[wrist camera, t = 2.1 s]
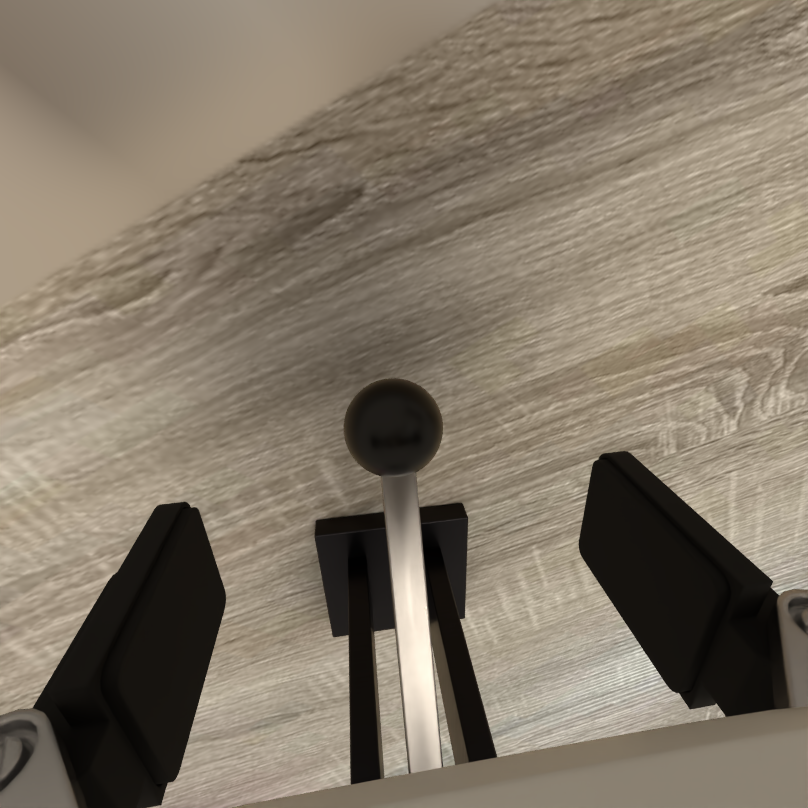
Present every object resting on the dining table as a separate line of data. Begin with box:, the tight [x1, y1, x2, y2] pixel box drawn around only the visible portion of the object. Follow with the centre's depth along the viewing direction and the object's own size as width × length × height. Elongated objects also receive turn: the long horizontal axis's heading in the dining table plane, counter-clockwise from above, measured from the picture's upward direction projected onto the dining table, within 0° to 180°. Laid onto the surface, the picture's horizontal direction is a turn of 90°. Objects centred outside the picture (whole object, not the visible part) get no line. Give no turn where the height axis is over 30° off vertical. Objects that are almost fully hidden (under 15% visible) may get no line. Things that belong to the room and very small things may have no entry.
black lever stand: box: [315, 503, 497, 785], centre depth 19 cm, size 8×8×14 cm
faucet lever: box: [344, 378, 443, 774], centre depth 14 cm, size 17×3×3 cm, turn 2°
